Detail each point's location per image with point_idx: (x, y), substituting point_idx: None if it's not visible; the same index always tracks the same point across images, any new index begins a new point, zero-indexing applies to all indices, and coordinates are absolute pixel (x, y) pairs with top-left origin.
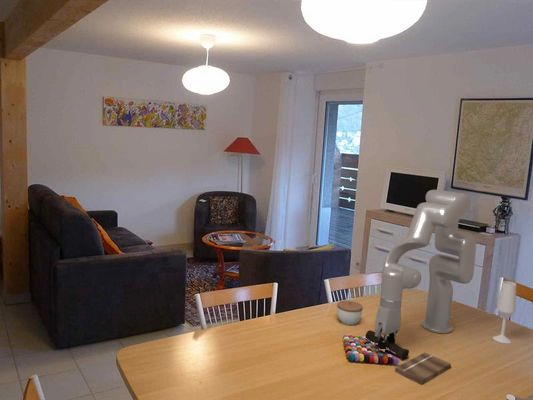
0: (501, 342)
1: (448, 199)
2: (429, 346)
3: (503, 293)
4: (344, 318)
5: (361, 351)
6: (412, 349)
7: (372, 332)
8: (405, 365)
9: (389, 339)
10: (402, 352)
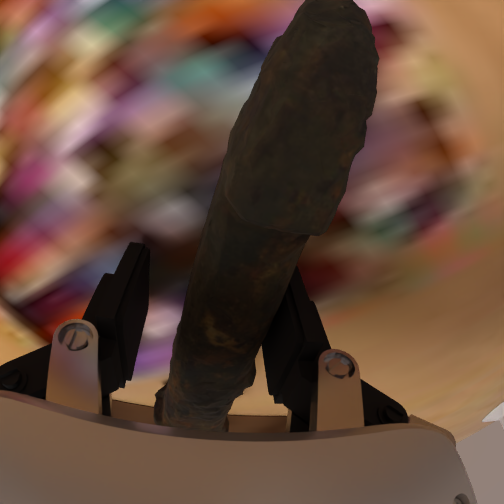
0: (485, 417)
1: None
2: (427, 381)
3: None
4: None
5: (19, 134)
6: (360, 367)
7: (310, 100)
8: None
9: (281, 348)
10: None
